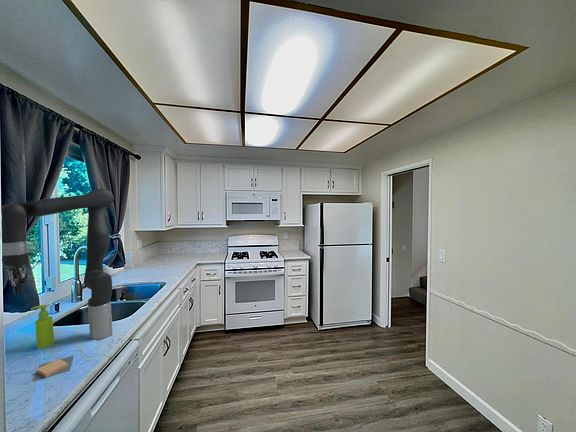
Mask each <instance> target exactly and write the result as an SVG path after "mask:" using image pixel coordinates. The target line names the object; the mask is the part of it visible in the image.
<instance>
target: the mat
mask: <svg viewBox="0 0 576 432" xmlns="http://www.w3.org/2000/svg"><path fill="white" fill-rule="evenodd" d="M59 359H60V360H62V361H64V362H66V363H68V367H66V368H64V369H62V370H60V371H58V372H56V373H54V374H52V375H50V376H48V377H44V376H43V375H41V374H39V373H38V372H37V371H35V374H34V376H33V378H32V380H31V383H33V382H38V381H40V380H43V379H44V380H45V379H47V378H50V377H54V376H56V375H60V374H64V373H67V372H70V371H71V368H72V363H73V360H74V355H70V356H67V357H64V358H59ZM53 361H54V360H52V361H49V362H48V361H47V362H45V363H41V364H39V365H38V368H40V367H42V366H44V365H46V364H49V363H51V362H53ZM38 368H37V369H38Z"/></svg>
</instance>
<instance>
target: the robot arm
mask: <svg viewBox="0 0 576 432" xmlns="http://www.w3.org/2000/svg"><path fill="white" fill-rule="evenodd" d="M114 199H115V195H114V194H113V192H111V191H110V190H108V189H105V188H97V189H92V190H91V191H89V192H88V193H85V194H79V195H71V196H60V197H59V196H57V197H51V198H43V199H42V198H41V199H35V200H32V201H23V202H14V203H8V204H7V203H6V204H2V205H1V206H2V221H1V230H2V253H3V265H2V266H3V267H8V269H7V270H5V273H6V276H7V279H8V282H9V284H11V286H12V290H13V295H14V296H18V295H22V294H23V285H24V284H26V281H27V278H28V272H26V268H25V266H24V265H25V264H28V263H29V262H30V258H29V245H28V241H27V232H26V228H27V227H26V226H27V218H33V217H44V216H51V215H55V214H60V213H65V212H69V211H74V210H79V209H81V210H82V209H86V208H87V214H88V217H87V229H86V230H87V234H86V266H85V271H84V278H83V283H84V285H85V287H86V288H87V289H89V290H90V291H91V293H90V295H91V297H90V298H88V300H87V307H88V308H87V309H88V310H87V311H88V324H89V326H88V327H89V329H88V330H89V339H90V340H95V341H98V340H99V341H100V340H103V339H104V340H105V339H106V338H109V337H110V336H113V318H112V317H113V316H112V314H113V313H112V300H111V299H112V296H113V279H112V276H111V275H110V274H109V273H107V272H104V259H105V257H106V256H107V255H106V254H107V253H108V250H109V247H110V241H111V239H110V236H111V233H110V228H109V225H108V222H107V218H106V212H107V207H110V205H112V204H113V203H114V201H115V200H114Z"/></svg>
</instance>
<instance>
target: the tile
mask: <svg viewBox="0 0 576 432" xmlns="http://www.w3.org/2000/svg"><path fill="white" fill-rule="evenodd" d="M60 359H61V358H57V359H55V360H52V361H53V362H52V361H50V362H51V363H49V364H46V365H44V366H42V367H40V368H36V372H38V373H39V374H41V375H43V376H44V377H47V378H49V377H48V376H50V375H52V374H54V373H56V372H58V371H60V370H62V369H64V368H66V367H68V363H66V362H64V361H62V360H60Z"/></svg>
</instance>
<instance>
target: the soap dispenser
mask: <svg viewBox="0 0 576 432" xmlns="http://www.w3.org/2000/svg"><path fill="white" fill-rule="evenodd" d="M47 307H48V304H41V305H36V306H32V307H31V308H30V310H31V311H33V310H37V309H40V312H39V313H38V314H37V315H38V318H37V320H35V322H34V324H35V325H34V326H35V336H36V338H35V339H36V350H40V349H46V348H49V347H51V346H53V345H54V344H55V336H54V323H53V322H54V321H53V320H54V319H53V317H52V316H50V315H49V310H46V309H47Z"/></svg>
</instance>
